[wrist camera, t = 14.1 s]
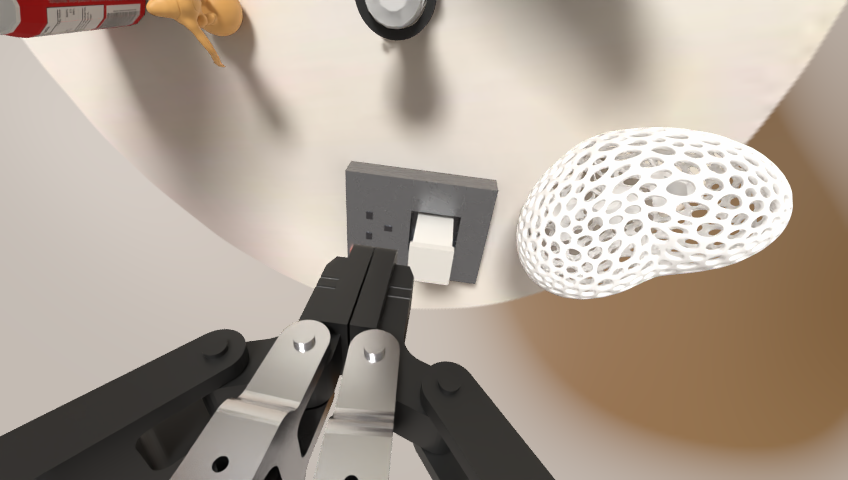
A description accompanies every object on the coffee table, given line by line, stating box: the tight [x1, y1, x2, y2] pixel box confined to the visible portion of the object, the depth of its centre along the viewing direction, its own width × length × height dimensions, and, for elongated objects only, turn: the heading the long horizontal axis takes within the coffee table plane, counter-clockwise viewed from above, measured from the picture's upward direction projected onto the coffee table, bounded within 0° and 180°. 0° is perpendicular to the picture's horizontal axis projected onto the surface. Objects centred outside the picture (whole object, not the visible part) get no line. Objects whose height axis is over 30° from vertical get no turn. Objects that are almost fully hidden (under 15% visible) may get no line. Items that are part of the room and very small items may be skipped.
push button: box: [355, 0, 436, 40], centre depth 27 cm, size 7×5×10 cm
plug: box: [408, 212, 454, 285], centre depth 40 cm, size 4×4×8 cm
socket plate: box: [346, 161, 498, 284], centre depth 42 cm, size 16×13×3 cm
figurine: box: [146, 0, 243, 67], centre depth 27 cm, size 8×6×12 cm
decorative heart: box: [516, 127, 793, 299], centre depth 30 cm, size 18×11×17 cm, turn 117°
